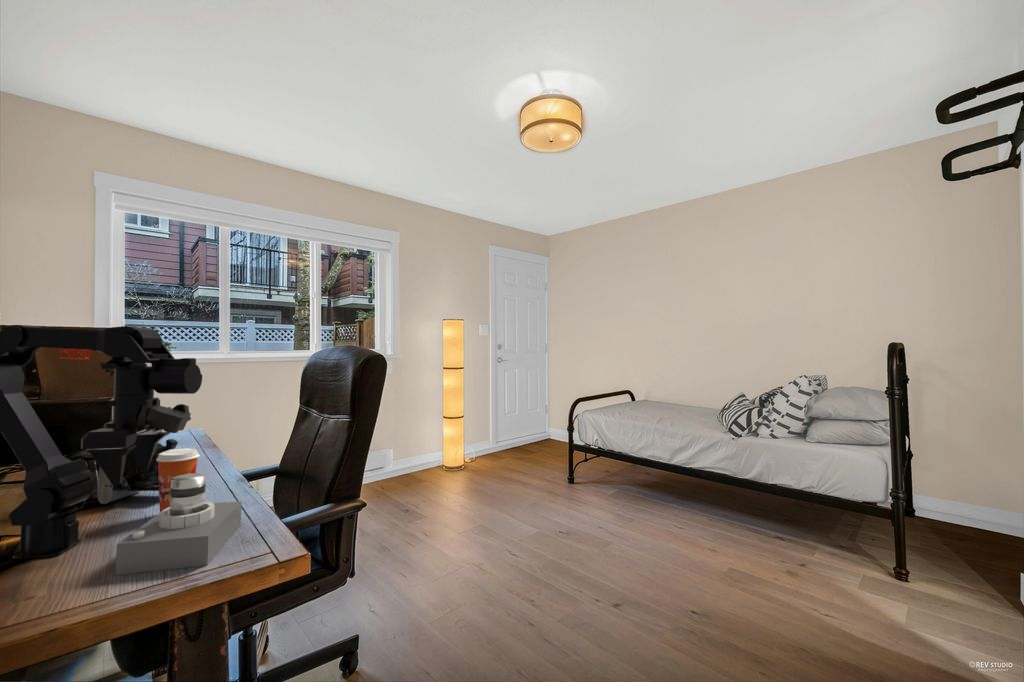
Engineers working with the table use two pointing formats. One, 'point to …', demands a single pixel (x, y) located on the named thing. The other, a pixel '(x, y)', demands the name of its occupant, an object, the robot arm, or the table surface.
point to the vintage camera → (132, 476)
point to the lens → (187, 494)
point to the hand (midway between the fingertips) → (131, 477)
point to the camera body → (178, 539)
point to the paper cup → (174, 470)
